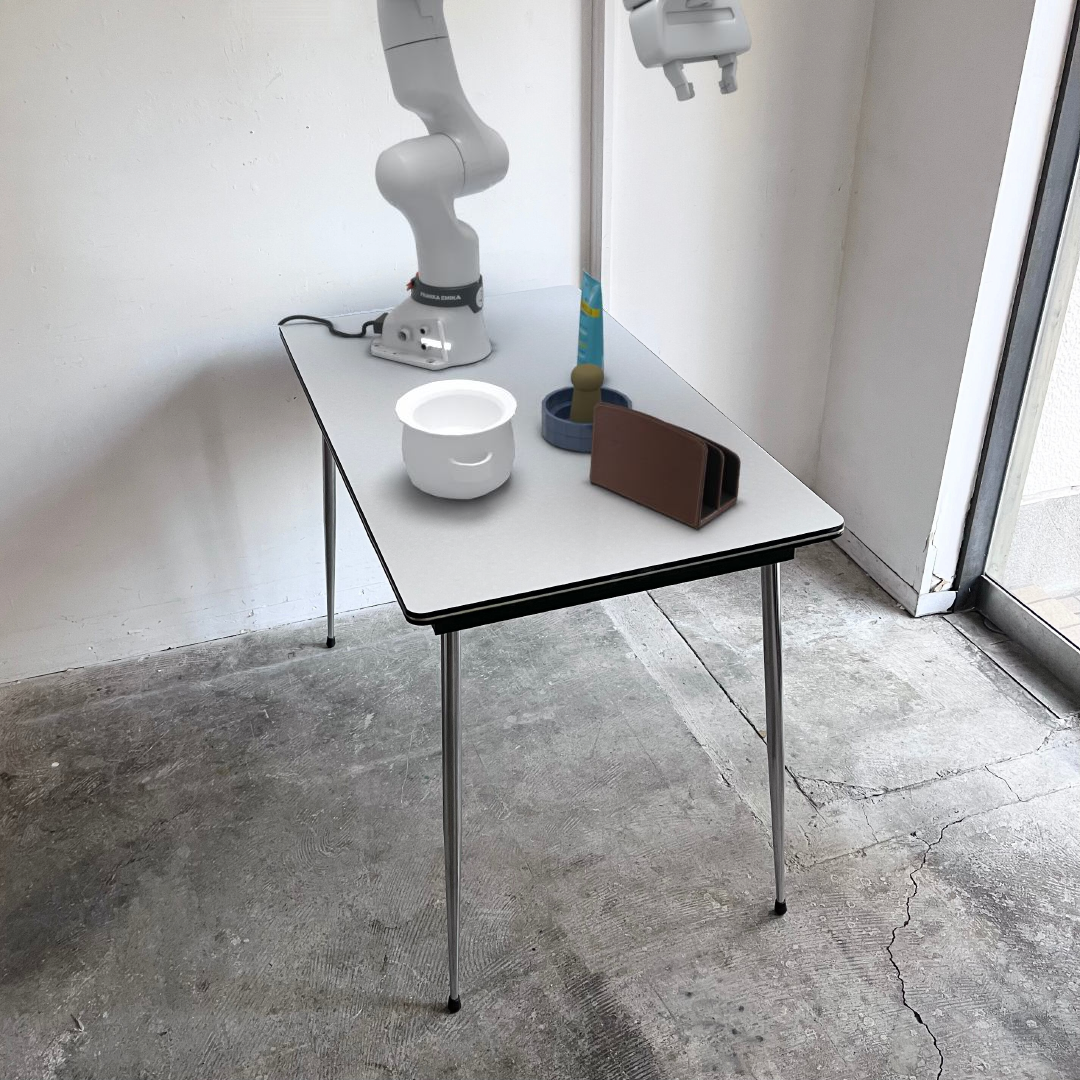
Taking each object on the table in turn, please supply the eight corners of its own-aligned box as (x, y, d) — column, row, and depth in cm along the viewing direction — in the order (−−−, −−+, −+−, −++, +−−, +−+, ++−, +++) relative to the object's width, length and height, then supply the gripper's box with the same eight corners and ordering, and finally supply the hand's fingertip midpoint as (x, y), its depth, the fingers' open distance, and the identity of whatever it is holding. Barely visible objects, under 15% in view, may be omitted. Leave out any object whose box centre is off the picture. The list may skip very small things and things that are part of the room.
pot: (541, 504, 157) (541, 428, 150) (425, 528, 151) (420, 450, 145) (490, 438, 174) (488, 367, 167) (385, 458, 168) (378, 386, 162)
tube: (568, 375, 194) (569, 270, 183) (592, 370, 196) (594, 266, 185) (588, 391, 188) (590, 284, 178) (612, 386, 190) (616, 279, 180)
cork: (602, 440, 172) (603, 376, 166) (564, 436, 173) (564, 373, 167) (607, 423, 177) (609, 360, 171) (571, 420, 178) (571, 357, 172)
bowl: (529, 445, 172) (529, 417, 169) (557, 407, 183) (557, 380, 180) (617, 459, 168) (618, 430, 165) (640, 419, 179) (642, 391, 177)
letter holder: (697, 530, 150) (705, 440, 143) (588, 482, 162) (590, 396, 154) (738, 503, 157) (747, 414, 149) (630, 458, 168) (634, 374, 160)
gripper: (710, -8, 147) (735, 96, 150) (612, -3, 134) (642, 112, 137) (748, -28, 142) (773, 80, 145) (650, -24, 129) (680, 95, 132)
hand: (708, 96), depth 141 cm, fingers open, 8 cm apart
